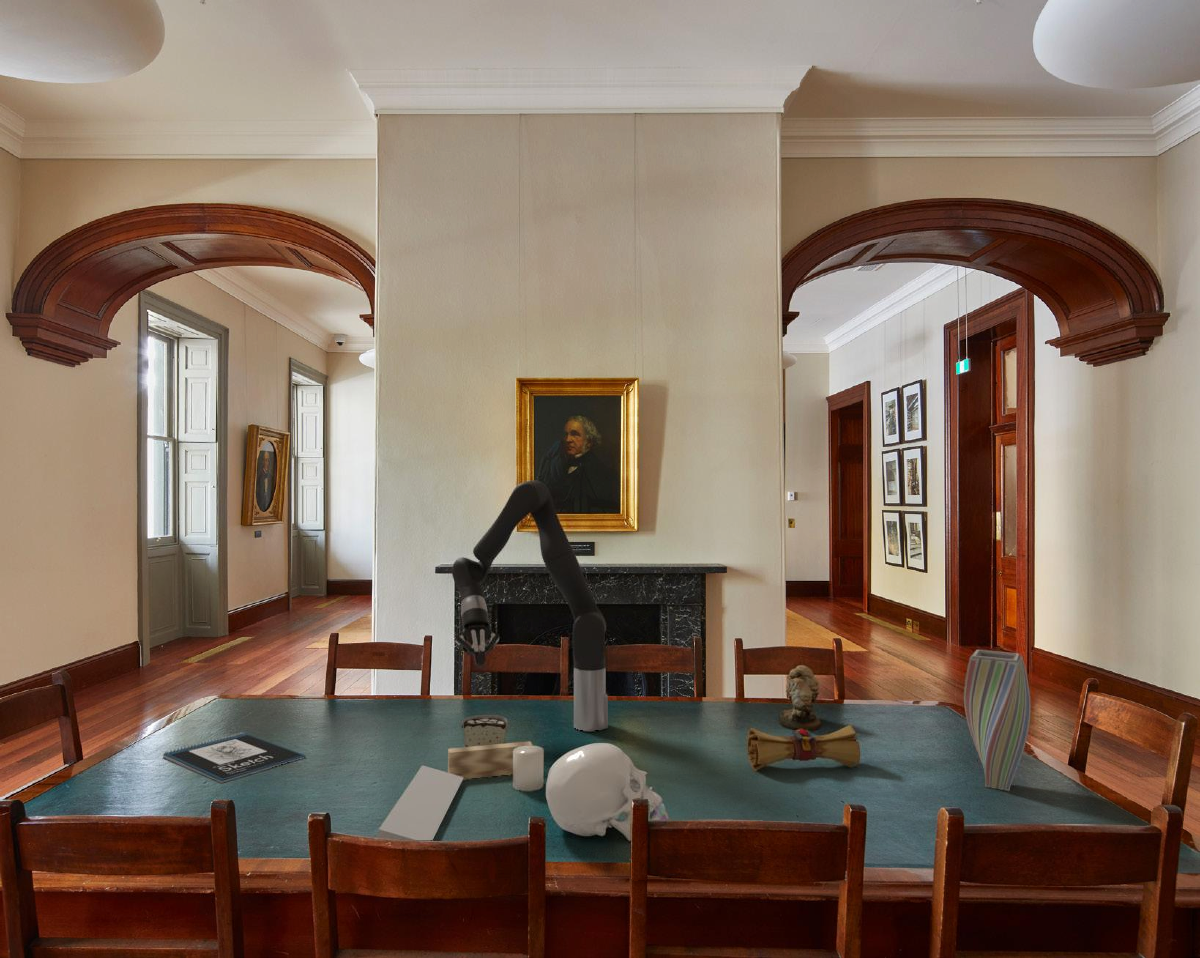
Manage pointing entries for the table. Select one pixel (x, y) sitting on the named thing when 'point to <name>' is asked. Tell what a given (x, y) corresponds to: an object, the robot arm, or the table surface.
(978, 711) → the vase
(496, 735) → the food container
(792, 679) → the stone bust statue
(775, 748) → the scroll
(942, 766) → the table surface
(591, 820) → the white human skull
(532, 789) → the glossy white cylinder
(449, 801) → the grey long flat block
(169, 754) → the sketchbook
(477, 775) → the light wooden block
